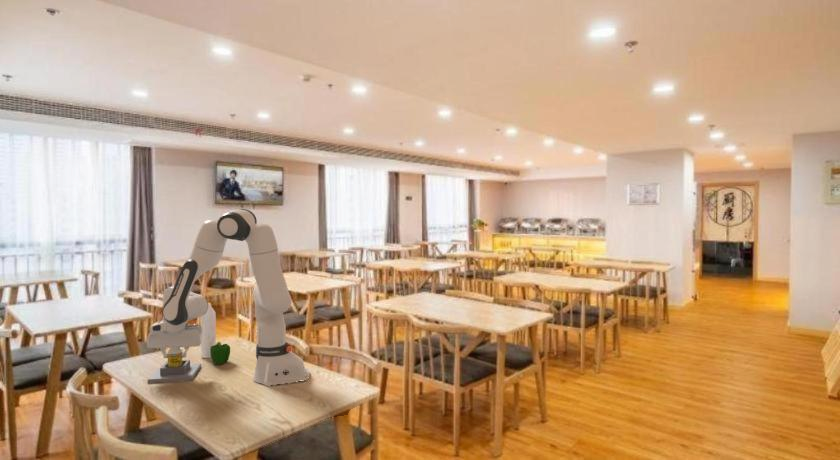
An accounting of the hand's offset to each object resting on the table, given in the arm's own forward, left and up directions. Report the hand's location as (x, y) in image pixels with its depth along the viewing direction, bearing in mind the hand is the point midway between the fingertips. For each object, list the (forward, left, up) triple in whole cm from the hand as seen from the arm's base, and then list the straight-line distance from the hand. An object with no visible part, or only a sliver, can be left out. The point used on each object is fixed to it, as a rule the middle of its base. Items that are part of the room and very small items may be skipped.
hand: (175, 357), depth 193 cm
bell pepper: (-15, -12, -8) cm, 21 cm away
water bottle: (-7, -22, -8) cm, 24 cm away
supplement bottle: (0, 0, -5) cm, 5 cm away
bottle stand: (0, 0, -7) cm, 7 cm away
